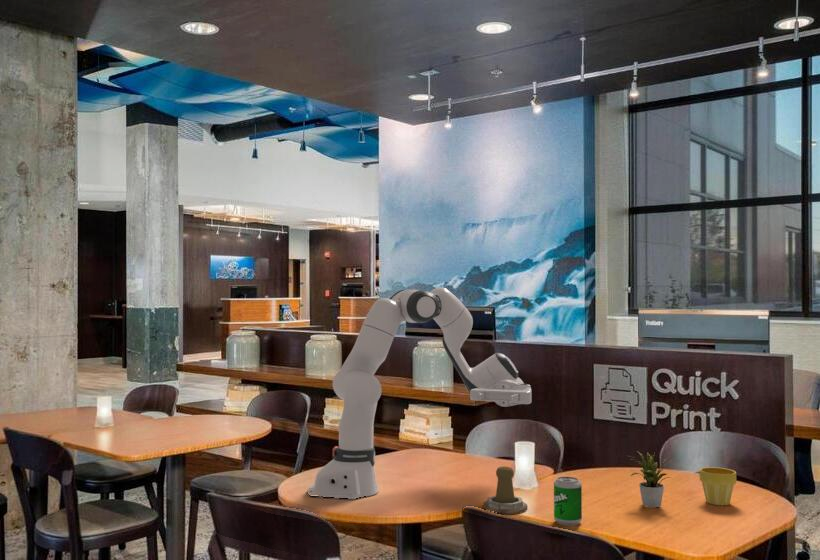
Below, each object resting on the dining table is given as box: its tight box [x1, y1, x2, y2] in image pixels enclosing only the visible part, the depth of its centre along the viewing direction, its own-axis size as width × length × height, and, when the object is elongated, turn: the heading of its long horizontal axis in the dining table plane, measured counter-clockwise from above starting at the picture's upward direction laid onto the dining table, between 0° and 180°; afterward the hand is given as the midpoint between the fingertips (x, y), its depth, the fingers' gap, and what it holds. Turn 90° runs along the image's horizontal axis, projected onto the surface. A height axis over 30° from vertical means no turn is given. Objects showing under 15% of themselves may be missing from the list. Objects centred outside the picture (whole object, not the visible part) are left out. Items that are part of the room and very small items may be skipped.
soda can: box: [553, 476, 583, 527], centre depth 211 cm, size 8×8×12 cm
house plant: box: [625, 451, 674, 508], centre depth 229 cm, size 14×14×16 cm
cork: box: [495, 465, 515, 503], centre depth 225 cm, size 6×6×11 cm
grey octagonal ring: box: [482, 495, 528, 515], centre depth 225 cm, size 13×13×2 cm
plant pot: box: [698, 466, 737, 507], centre depth 231 cm, size 10×10×10 cm
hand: (495, 398), depth 244 cm, fingers open, 8 cm apart
